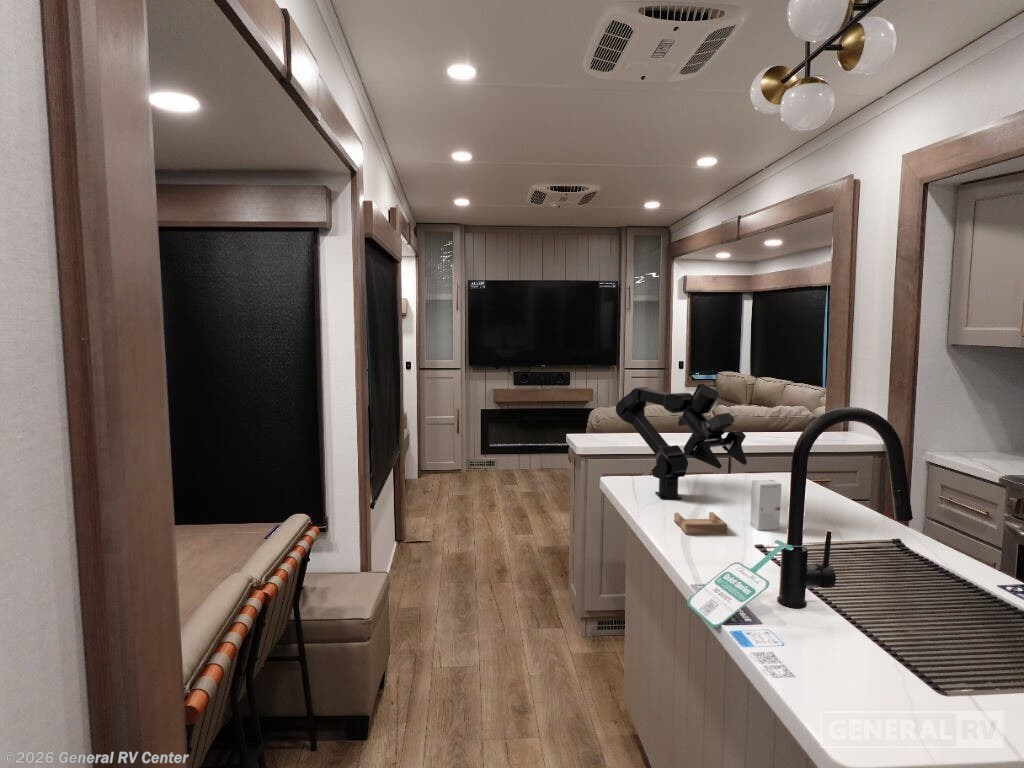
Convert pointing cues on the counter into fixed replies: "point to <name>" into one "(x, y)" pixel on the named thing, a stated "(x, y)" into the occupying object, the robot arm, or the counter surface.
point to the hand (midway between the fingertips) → (733, 465)
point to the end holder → (701, 525)
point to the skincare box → (765, 504)
